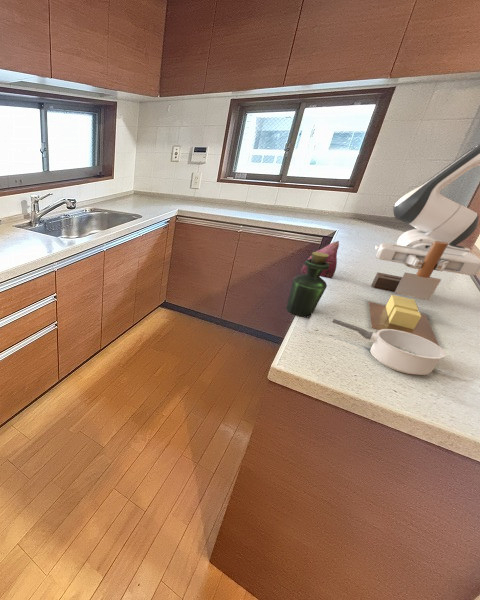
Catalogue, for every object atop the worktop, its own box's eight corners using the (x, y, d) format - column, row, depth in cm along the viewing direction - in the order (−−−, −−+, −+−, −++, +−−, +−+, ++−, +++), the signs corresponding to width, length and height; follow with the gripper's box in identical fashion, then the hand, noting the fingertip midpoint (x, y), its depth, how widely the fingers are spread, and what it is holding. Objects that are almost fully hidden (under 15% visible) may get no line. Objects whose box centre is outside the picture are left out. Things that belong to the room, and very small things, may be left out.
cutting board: (423, 319, 94) (425, 314, 93) (436, 351, 79) (439, 346, 79) (366, 305, 101) (368, 301, 100) (369, 332, 86) (371, 328, 86)
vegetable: (324, 280, 127) (349, 244, 121) (331, 286, 118) (359, 248, 112) (297, 268, 130) (320, 233, 123) (301, 274, 121) (327, 236, 114)
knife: (428, 298, 86) (459, 244, 80) (429, 301, 84) (462, 246, 78) (393, 291, 90) (421, 238, 83) (394, 294, 88) (422, 240, 81)
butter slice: (412, 325, 88) (419, 312, 86) (413, 329, 85) (421, 316, 84) (388, 319, 90) (395, 306, 88) (389, 323, 88) (396, 310, 86)
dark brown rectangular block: (412, 293, 110) (419, 280, 107) (414, 300, 105) (422, 286, 103) (371, 285, 115) (377, 272, 113) (371, 290, 111) (378, 277, 109)
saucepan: (328, 329, 87) (336, 311, 85) (431, 362, 75) (444, 342, 73) (320, 347, 80) (328, 327, 77) (432, 387, 68) (447, 365, 65)
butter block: (407, 311, 94) (414, 299, 93) (411, 322, 89) (418, 309, 87) (385, 306, 97) (391, 294, 95) (387, 316, 91) (394, 304, 90)
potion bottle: (315, 321, 91) (341, 261, 83) (282, 314, 94) (303, 255, 86) (313, 310, 97) (336, 252, 89) (282, 303, 101) (302, 247, 92)
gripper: (379, 235, 96) (382, 245, 87) (478, 249, 86) (495, 263, 76) (370, 255, 99) (372, 267, 89) (464, 271, 89) (479, 288, 79)
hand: (429, 266), depth 82 cm, fingers closed on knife, 2 cm apart
